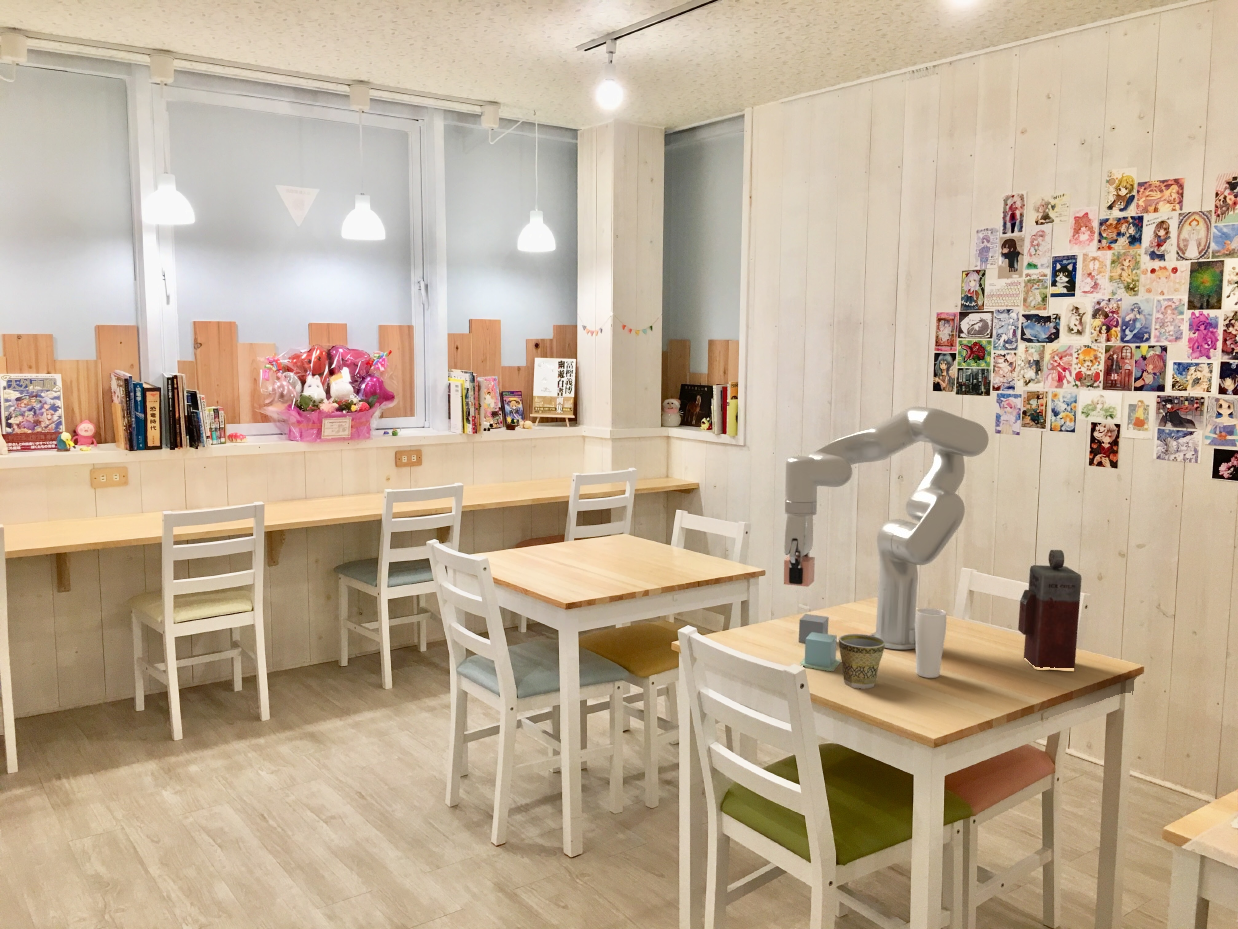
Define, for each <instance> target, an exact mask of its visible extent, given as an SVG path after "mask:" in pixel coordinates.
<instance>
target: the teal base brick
mask: <svg viewBox="0 0 1238 929" xmlns="http://www.w3.org/2000/svg"><path fill="white" fill-rule="evenodd" d="M837 637H838V636H837V635H836V634H829V633H828V634H822V633H815V632H811V633H810V634H809V636H808V637H807V638H806V641H805V643H804V658H805V664H812V665H818V666H825V667H831V665H832V664H833V663H834V662H835V660H836V659H837V640H838V638H837Z"/></svg>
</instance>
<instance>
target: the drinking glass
mask: <svg viewBox="0 0 1238 929" xmlns="http://www.w3.org/2000/svg"><path fill="white" fill-rule="evenodd" d="M947 615H948V614H947V612H946V611H945V610H943V609H938V608H933V607H921V608H920V607H919V608H916V617H915V643H916V648H915V673H916V675H917V676H919V677H920V678H921V677H922V678H926V679H935V678H939V676H940V675H941V665H942V659H943V653H944V652H943V651H944V646H945V639H946V632H947V618H948V617H947Z"/></svg>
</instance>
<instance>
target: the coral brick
mask: <svg viewBox="0 0 1238 929" xmlns="http://www.w3.org/2000/svg"><path fill="white" fill-rule="evenodd" d="M797 559H798V562H799V558H797ZM815 559H816V558H815V556H810V557H807V556H803V558H802V567H801V568H803V583H802V584H791V583H789V563H790V561H789V560H790V558H789V556H788V557H786V558H785V559H784V560H783V585H785V586H786V585H787V586H795V587H796V586H797V587H798V586H799V587H806V588H807V587H810V586H811V585H812V584H813V583H814V582H815V564H816V563H815V561H816V560H815Z"/></svg>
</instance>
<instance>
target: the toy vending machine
mask: <svg viewBox="0 0 1238 929" xmlns="http://www.w3.org/2000/svg"><path fill="white" fill-rule="evenodd" d="M1048 564H1049V565H1041V564H1040V565H1030V569H1029V578H1028V589H1024V591H1023V593H1022V596H1021V598H1020V600H1019V613H1018V614H1019V615H1018V627H1017V630H1018V631H1019V632H1020V633H1021V634H1022V635H1024V647H1023V648H1024V649H1023V659H1024V658H1026V659H1027V660H1028V661H1029V662H1030V663H1031V664H1032V665H1034V666H1035V667H1040V668H1043V667H1050V668H1054V667H1055V668H1075V667H1076V658H1077V657H1076V656H1077V655H1076V654H1077V642H1078V630H1079V629H1078V628H1079V619H1080V618H1079V616H1080V605H1081V593H1082V592H1081V589H1082V575H1081V573H1078V572H1076V571H1074V570H1073V569H1072V568H1069V567H1068V566H1066V565H1064V564H1065V554H1064V551H1063V550H1062V549H1050V551H1049V553H1048ZM1075 669H1076V668H1075Z"/></svg>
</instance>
